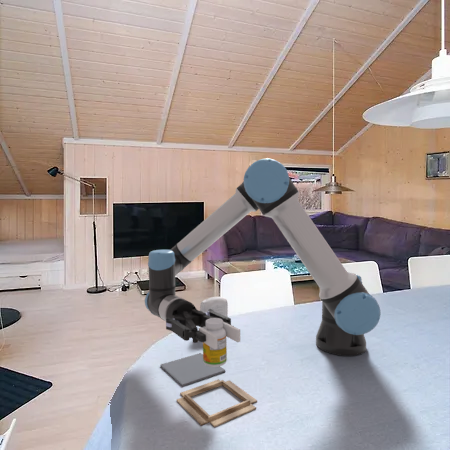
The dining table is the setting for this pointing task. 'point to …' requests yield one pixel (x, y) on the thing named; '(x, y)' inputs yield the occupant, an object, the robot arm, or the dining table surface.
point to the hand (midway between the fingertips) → (227, 339)
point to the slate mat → (190, 369)
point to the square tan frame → (223, 415)
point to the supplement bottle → (217, 355)
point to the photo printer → (215, 306)
